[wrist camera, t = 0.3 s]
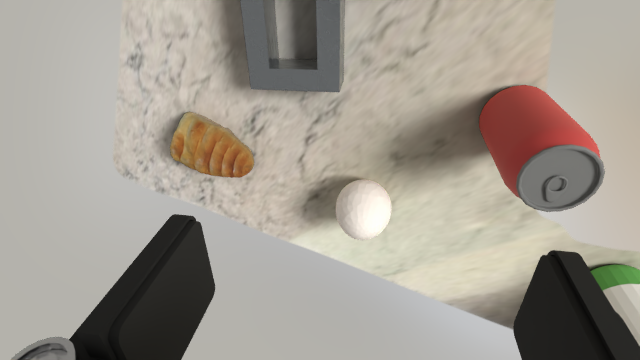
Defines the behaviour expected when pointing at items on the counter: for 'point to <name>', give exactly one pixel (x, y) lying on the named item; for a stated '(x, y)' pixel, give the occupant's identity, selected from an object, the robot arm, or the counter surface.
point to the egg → (363, 209)
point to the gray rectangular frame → (294, 72)
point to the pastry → (210, 148)
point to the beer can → (540, 149)
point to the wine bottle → (622, 293)
